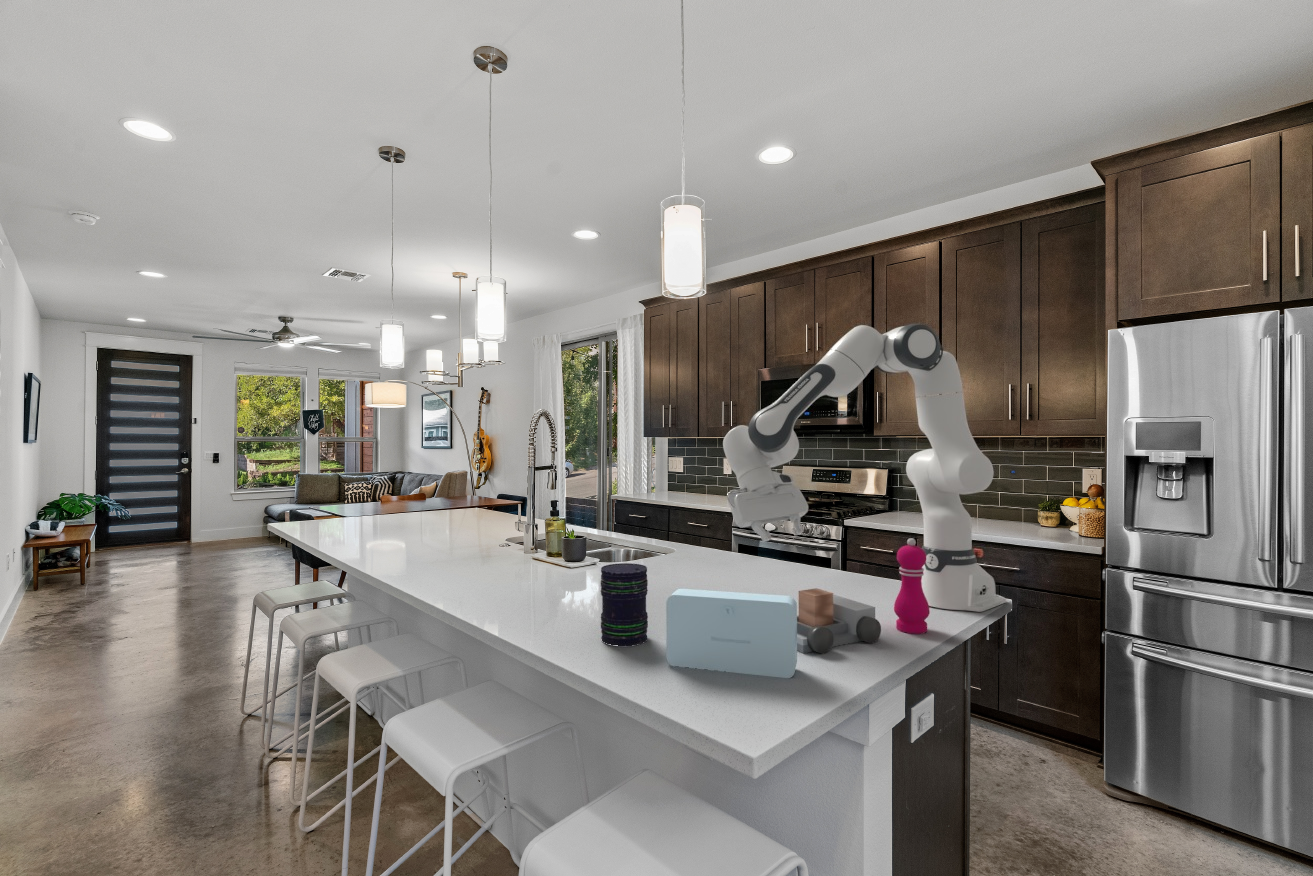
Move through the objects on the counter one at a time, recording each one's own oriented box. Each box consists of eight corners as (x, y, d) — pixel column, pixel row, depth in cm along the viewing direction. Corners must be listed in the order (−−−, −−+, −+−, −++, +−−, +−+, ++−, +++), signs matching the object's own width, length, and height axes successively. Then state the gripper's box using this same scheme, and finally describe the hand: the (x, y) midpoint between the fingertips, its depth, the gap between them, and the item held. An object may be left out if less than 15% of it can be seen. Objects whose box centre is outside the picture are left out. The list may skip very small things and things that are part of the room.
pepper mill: (888, 630, 139) (888, 538, 139) (901, 622, 144) (901, 534, 144) (922, 637, 134) (922, 542, 134) (934, 629, 139) (934, 538, 139)
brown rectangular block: (816, 625, 137) (816, 588, 137) (833, 631, 133) (833, 593, 133) (798, 628, 135) (798, 590, 135) (814, 635, 131) (814, 596, 131)
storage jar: (592, 643, 130) (592, 570, 130) (612, 630, 139) (611, 561, 139) (637, 649, 127) (637, 574, 127) (654, 634, 136) (654, 565, 136)
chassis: (826, 619, 147) (826, 591, 147) (884, 640, 132) (884, 609, 131) (756, 632, 137) (756, 602, 137) (810, 656, 122) (809, 622, 122)
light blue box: (665, 667, 117) (665, 595, 117) (673, 657, 122) (673, 588, 122) (794, 681, 110) (794, 604, 110) (797, 669, 116) (796, 596, 116)
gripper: (730, 484, 148) (754, 537, 141) (797, 475, 157) (822, 524, 151) (718, 498, 152) (741, 550, 146) (784, 488, 162) (808, 536, 156)
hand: (783, 537), depth 148 cm, fingers open, 8 cm apart
